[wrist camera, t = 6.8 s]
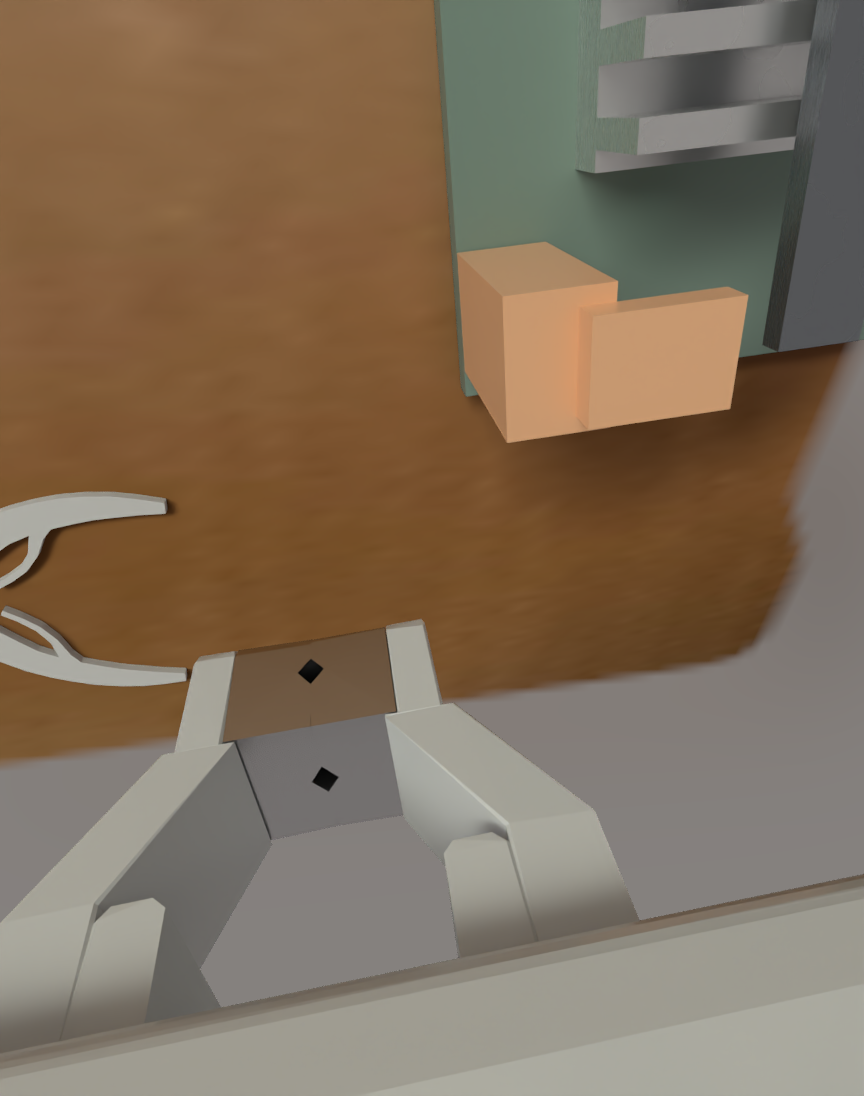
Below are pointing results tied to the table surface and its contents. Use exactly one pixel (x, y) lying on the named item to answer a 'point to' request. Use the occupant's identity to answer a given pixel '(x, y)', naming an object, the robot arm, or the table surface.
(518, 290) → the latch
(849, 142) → the strap
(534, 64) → the board
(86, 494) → the pliers
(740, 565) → the table surface
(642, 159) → the heatsink
